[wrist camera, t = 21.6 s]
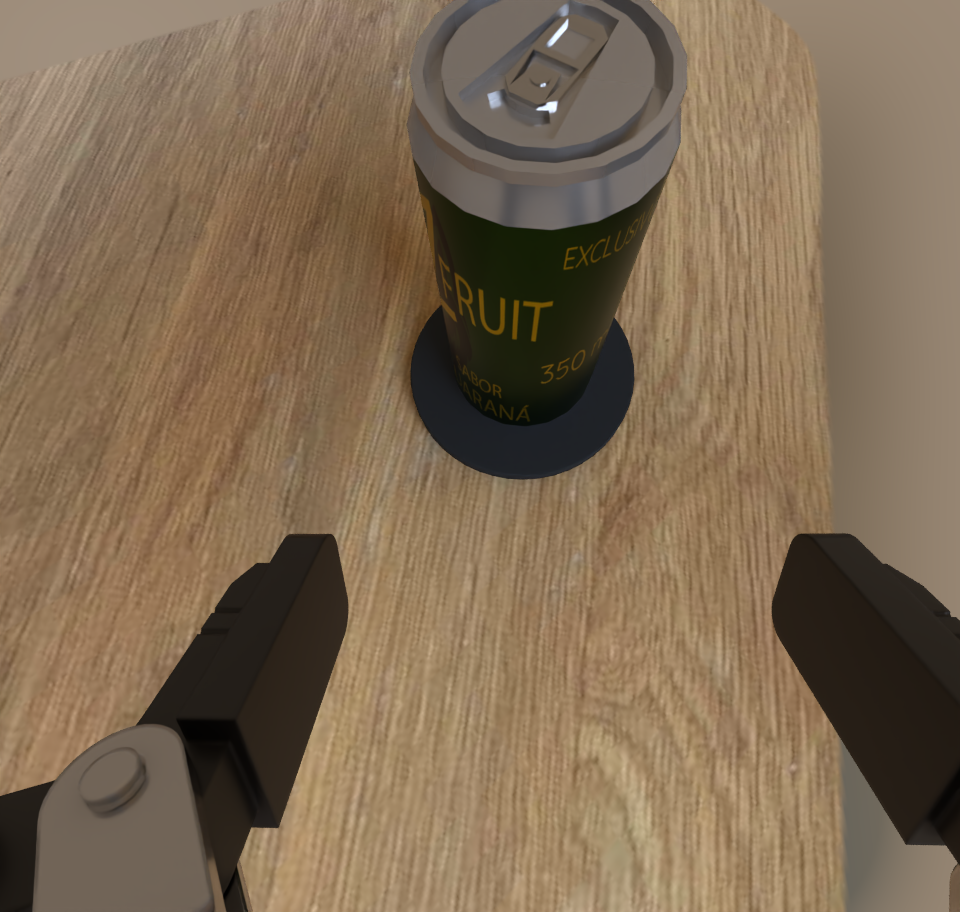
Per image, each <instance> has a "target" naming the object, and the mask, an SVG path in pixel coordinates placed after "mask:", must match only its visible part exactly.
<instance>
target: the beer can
mask: <svg viewBox="0 0 960 912" xmlns="http://www.w3.org/2000/svg"><path fill="white" fill-rule="evenodd" d="M410 78H411V84H412V90H413V99H412V103H411V108H410V112H409V117H408V121H407V129H408V134H409V140H410V145H411V150H412V156H413V161H414V166H415V171H416V176H417V181H418V187H419V192H420V197H421V202H422V207H423V212H424V217H425V222H426V228H427V233H428V238H429V243H430V248H431V253H432V258H433V263H434V269H435V274H436V279H437V284H438V289H439V294H440V299H441V305H442V310H443V315H444V320H445V325H446V330H447V335H448V340H449V346H450V351H451V356H452V361H453V366H454V371H455V376H456V381H457V385H458V386H459V388H460V390H461V392H462V393H463V395H464V397H465V398H466V400H467V402H469V403H470V404H471V405H472V406H473V407H474V408H475V409H477V410H478V411H479V412H480V413H481V414H482V415H484V416H486V417H488V418H491V419H493V420H495V421H498V422H500V423H502V424H507V425H516V426H526V427H527V426H532V425H537V424H542V423H548V422H550V421H552V420H554V419H556V418H558V417H559V416H561V415H563V414H565V413H567V412H568V411H569V410H570V409H571V408H572V407H573V406H574V405H575V404H576V403H577V402H578V401H579V400H580V399H581V398H582V397H583V394H584V392H585V390H586V388H587V385H588V383H589V381H590V379H591V376H592V374H593V371H594V368H595V366H596V363H597V361H598V358H599V355H600V353H601V350H602V347H603V345H604V342H605V340H606V337H607V334H608V332H609V329H610V326H611V324H612V321H613V319H614V316H615V313H616V311H617V308H618V305H619V303H620V300H621V298H622V295H623V292H624V290H625V287H626V284H627V282H628V279H629V276H630V274H631V271H632V269H633V266H634V263H635V261H636V258H637V255H638V253H639V250H640V248H641V245H642V242H643V240H644V237H645V234H646V232H647V229H648V227H649V224H650V221H651V219H652V216H653V213H654V211H655V208H656V206H657V203H658V200H659V198H660V195H661V192H662V190H663V187H664V184H665V182H666V179H667V177H668V174H669V171H670V169H671V166H672V163H673V161H674V158H675V156H676V153H677V150H678V148H679V145H680V142H681V103H682V100H683V97H684V94H685V92H686V89H687V54H686V52H685V49H684V47H683V45H682V42H681V40H680V38H679V35H678V33H677V31H676V28H675V26H674V25H673V24H672V23H671V22H670V21H669V20H668V19H667V18H666V17H665V16H664V14H663V13H662V12H661V11H660V10H659V9H658V8H657V7H656V6H655V5H654V4H653V3H652V2H651V1H650V0H454V1H452V2H451V3H450V4H448V5H447V6H446V7H444V8H443V9H442V10H441V11H439V12H438V13H437V14H435V16H434V17H433V19H432V20H431V22H430V23H429V25H428V26H427V28H426V29H425V30H424V32H423V33H422V35H421V36H420V38H419V39H418V41H417V42H416V47H415V51H414V55H413V60H412V64H411V69H410Z"/></svg>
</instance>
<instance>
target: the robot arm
mask: <svg viewBox="0 0 960 912" xmlns="http://www.w3.org/2000/svg"><path fill="white" fill-rule="evenodd" d="M772 619H773V624H774V628H775V631H776V633H777V636H778V637H779V639H780V641H781V643H782V644H783V646H784V647H785V649H786V651H787V652H788V654H789V656H790V657H791V659H792V660H793V662H794V664H795V665H796V667H797V669H798V670H799V672H800V673H801V675H802V677H803V678H804V680H805V681H806V683H807V685H808V686H809V688H810V690H811V691H812V693H813V694H814V696H815V698H816V699H817V701H818V703H819V704H820V706H821V707H822V709H823V711H824V712H825V714H826V716H827V717H828V719H829V720H830V722H831V724H832V725H833V727H834V729H835V730H836V732H837V733H838V735H839V737H840V738H841V740H842V742H843V743H844V745H845V746H846V748H847V749H848V751H849V753H850V755H851V756H852V758H853V759H854V761H855V762H856V764H857V766H858V767H859V769H860V771H861V772H862V774H863V775H864V777H865V779H866V780H867V782H868V784H869V785H870V787H871V788H872V790H873V792H874V793H875V795H876V796H877V798H878V800H879V801H880V803H881V805H882V806H883V808H884V810H885V811H886V813H887V815H888V816H889V818H890V819H891V821H892V823H893V824H894V826H895V828H896V829H897V831H898V832H899V834H900V836H901V837H902V839H903V840H904V842H905V844H906V845H946V846H947V847H948V849H949V850H950V852H951V853H952V854H953V856H954V858H955V859H956V860H957V862H958V864H957V865H956V866H955V867H954V869H953V871H952V873H951V877H950V895H949V897H950V898H949V912H960V620H958V619H957V618H956V617H951V615H950V611H949V610H948V609H947V608H946V607H945V606H944V605H943V604H942V603H940V602H939V601H938V600H937V599H936V598H935V597H934V596H933V595H932V594H931V593H930V592H929V591H928V590H927V589H926V588H924V586H922V585H921V584H919V583H917V582H916V581H914V580H913V579H911V578H909V577H908V576H906V575H904V574H903V573H901V572H899V571H898V570H896V569H894V568H893V567H891V566H889V565H888V564H882V563H881V562H880V561H879V560H878V559H877V558H876V557H875V556H874V555H873V554H872V553H871V552H870V551H869V550H868V549H867V548H866V547H865V546H864V545H863V544H862V543H861V542H860V541H859V540H858V539H857V538H856V537H854V536H852V535H850V534H798V535H797V536H795V537H794V539H793V540H792V542H791V544H790V547H789V550H788V553H787V557H786V560H785V563H784V566H783V569H782V572H781V575H780V579H779V582H778V585H777V588H776V591H775V594H774V597H773V601H772ZM347 621H348V597H347V592H346V587H345V582H344V577H343V572H342V567H341V562H340V557H339V552H338V547H337V542H336V539H335V537H334V536H333V535H332V534H289V535H287V536H286V537H285V539H284V540H283V542H282V543H281V545H280V547H279V548H278V550H277V551H276V553H275V555H274V556H273V558H272V560H271V561H270V563H256V564H255V565H254V566H253V567H251V568H250V569H249V570H248V571H246V572H245V573H244V574H243V575H241V576H240V577H239V578H238V579H236V580H235V581H234V582H233V583H232V584H231V585H230V586H229V588H228V589H227V591H226V592H225V594H224V595H223V597H222V598H221V600H220V601H219V603H218V604H217V606H216V607H215V613H211V615H210V616H209V618H208V619H207V621H206V622H205V624H204V625H203V627H202V628H201V634H197V636H196V637H195V639H194V640H193V642H192V643H191V645H190V646H189V648H188V649H187V651H186V652H185V654H184V655H183V657H182V658H181V660H180V661H179V663H178V664H177V666H176V667H175V669H174V670H173V672H172V673H171V675H170V676H169V678H168V679H167V681H166V682H165V684H164V685H163V687H162V688H161V690H160V691H159V693H158V694H157V695H156V697H155V698H154V700H153V701H152V703H151V704H150V706H149V707H148V709H147V710H146V712H145V713H144V715H143V716H142V718H141V719H140V721H139V722H138V723H137V725H136V726H133V727H129V728H126V729H123V730H120V731H118V732H116V733H113V734H111V735H109V736H107V737H105V738H104V739H102V740H100V741H98V742H97V743H95V744H94V745H92V746H91V747H89V748H88V749H87V750H85V751H84V752H83V753H82V754H80V755H79V756H78V757H77V758H76V759H75V760H73V761H72V762H71V763H70V764H69V765H68V766H67V767H66V768H65V769H64V771H63V772H62V773H61V774H60V775H59V776H58V778H57V779H56V780H54V781H51V782H48V783H44V784H41V785H37V786H34V787H30V788H27V789H23V790H20V791H16V792H13V793H9V794H6V795H2V796H0V912H253V910H252V906H251V902H250V898H249V894H248V890H247V886H246V882H245V878H244V874H243V870H242V866H241V863H240V860H239V858H240V855H241V853H242V850H243V848H244V845H245V842H246V840H247V837H248V835H249V832H250V829H251V827H257V828H279V825H280V822H281V819H282V816H283V814H284V811H285V808H286V805H287V802H288V799H289V796H290V793H291V790H292V787H293V784H294V781H295V778H296V776H297V773H298V770H299V767H300V764H301V761H302V758H303V755H304V752H305V749H306V746H307V743H308V740H309V738H310V735H311V732H312V729H313V726H314V723H315V720H316V717H317V714H318V711H319V708H320V705H321V703H322V700H323V697H324V694H325V691H326V688H327V685H328V682H329V679H330V676H331V673H332V670H333V667H334V665H335V662H336V659H337V656H338V653H339V650H340V647H341V644H342V641H343V638H344V635H345V632H346V628H347Z"/></svg>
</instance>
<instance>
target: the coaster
mask: <svg viewBox="0 0 960 912" xmlns="http://www.w3.org/2000/svg"><path fill="white" fill-rule="evenodd" d="M633 386H634V364H633V358H632V353H631V350H630V347H629V344H628V340H627V338H626V336H625V334H624V332H623V330H622V328H621V327H620V325H619V324H618V322H617V321H616V319H615V318H614V319H613V321H612V324H611V326H610V329H609V332H608V334H607V337H606V340H605V342H604V345H603V347H602V350H601V353H600V355H599V358H598V361H597V363H596V366H595V368H594V371H593V374H592V376H591V379H590V381H589V383H588V385H587V388H586V390H585V392H584V394H583V397H582V398H581V399H580V400H579V401H578V402H577V403H576V404H575V405H574V406H573V407H572V408H571V409H570V410H569V411H568V412H567V413H565V414H563V415H561V416H559V417H558V418H556V419H554V420H552V421H550V422H548V423H542V424H537V425H532V426H527V427H526V426H516V425H507V424H502V423H500V422H498V421H495V420H493V419H491V418H488V417H486V416H484V415H482V414H481V413H480V412H479V411H478V410H477V409H475V408H474V407H473V406H472V405H471V404H470V403H469V402H467V400H466V398H465V397H464V395H463V393H462V392H461V390H460V388H459V386H458V385H457V381H456V376H455V371H454V366H453V361H452V356H451V351H450V346H449V340H448V335H447V330H446V325H445V320H444V315H443V310H442V305H441V306H440V307H439V308H438V309H437V310H436V311H435V312H434V313H433V314H432V316H431V317H430V318H429V320H428V321H427V322H426V324H425V326H424V328H423V329H422V331H421V333H420V335H419V337H418V340H417V342H416V345H415V348H414V352H413V356H412V362H411V387H412V393H413V398H414V401H415V404H416V407H417V410H418V413H419V415H420V417H421V419H422V421H423V423H424V425H425V427H426V428H427V430H428V431H429V433H430V434H431V436H432V437H433V438H434V439H435V441H436V442H437V443H438V444H439V445H440V446H441V447H442V448H443V449H444V450H445V451H446V452H448V453H449V454H450V455H451V456H452V457H454V458H455V459H457V460H458V461H460V462H462V463H463V464H465V465H466V466H469V467H471V468H473V469H475V470H477V471H479V472H483V473H486V474H489V475H492V476H496V477H502V478H508V479H537V478H543V477H548V476H553V475H556V474H559V473H562V472H565V471H568V470H570V469H572V468H574V467H576V466H578V465H580V464H582V463H583V462H585V461H586V460H588V459H589V458H591V457H592V456H594V455H595V454H596V453H597V452H598V451H599V450H600V449H601V448H603V447H604V446H605V445H606V443H607V442H608V441H609V440H610V439H611V437H612V436H613V435H614V433H615V432H616V430H617V429H618V427H619V425H620V424H621V422H622V421H623V419H624V417H625V414H626V412H627V410H628V408H629V405H630V401H631V397H632V394H633Z"/></svg>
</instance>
